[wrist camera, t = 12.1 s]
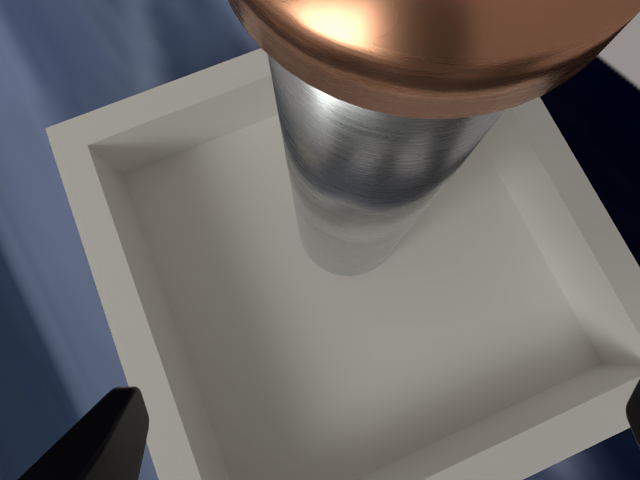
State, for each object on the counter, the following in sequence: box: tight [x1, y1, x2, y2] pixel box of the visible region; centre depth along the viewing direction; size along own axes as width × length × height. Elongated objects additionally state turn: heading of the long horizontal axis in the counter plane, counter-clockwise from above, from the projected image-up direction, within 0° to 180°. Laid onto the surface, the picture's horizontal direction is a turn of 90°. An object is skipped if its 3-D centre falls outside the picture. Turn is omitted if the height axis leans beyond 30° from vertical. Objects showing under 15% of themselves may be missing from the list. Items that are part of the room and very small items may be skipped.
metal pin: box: [228, 0, 640, 276], centre depth 12 cm, size 5×5×15 cm
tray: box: [45, 48, 640, 480], centre depth 17 cm, size 17×17×4 cm
